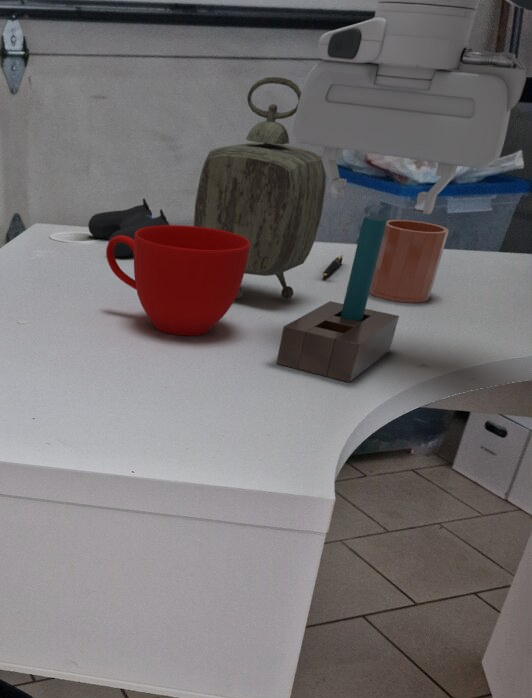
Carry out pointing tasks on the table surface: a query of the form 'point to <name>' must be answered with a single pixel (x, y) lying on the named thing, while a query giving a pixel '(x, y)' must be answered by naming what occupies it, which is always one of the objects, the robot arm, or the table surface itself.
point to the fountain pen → (333, 266)
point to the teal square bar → (363, 267)
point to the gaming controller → (124, 225)
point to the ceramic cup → (184, 274)
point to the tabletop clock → (265, 194)
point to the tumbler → (408, 261)
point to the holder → (336, 341)
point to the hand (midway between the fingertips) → (376, 205)
